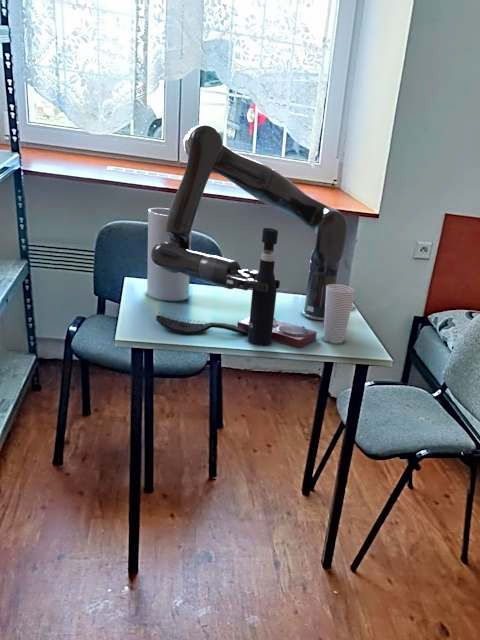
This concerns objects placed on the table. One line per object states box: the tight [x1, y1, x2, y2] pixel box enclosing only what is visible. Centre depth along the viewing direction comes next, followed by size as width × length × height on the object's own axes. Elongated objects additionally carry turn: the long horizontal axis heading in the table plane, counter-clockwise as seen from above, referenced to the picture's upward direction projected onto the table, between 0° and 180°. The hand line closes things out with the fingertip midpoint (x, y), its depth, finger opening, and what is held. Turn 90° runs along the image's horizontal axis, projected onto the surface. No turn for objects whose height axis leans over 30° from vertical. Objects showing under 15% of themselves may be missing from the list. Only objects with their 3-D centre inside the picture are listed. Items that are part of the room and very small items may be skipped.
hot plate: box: [237, 316, 318, 348], centre depth 190 cm, size 12×20×3 cm, turn 66°
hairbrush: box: [155, 311, 248, 336], centre depth 182 cm, size 8×4×25 cm
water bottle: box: [247, 227, 279, 347], centre depth 175 cm, size 6×6×30 cm
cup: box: [322, 283, 356, 344], centre depth 191 cm, size 8×8×16 cm
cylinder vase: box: [146, 207, 192, 302], centre depth 200 cm, size 12×12×25 cm
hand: (273, 286), depth 174 cm, fingers closed on water bottle, 6 cm apart
